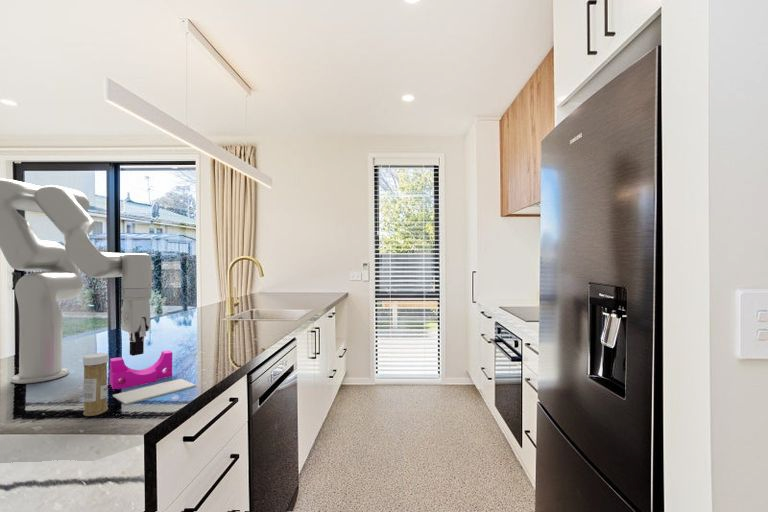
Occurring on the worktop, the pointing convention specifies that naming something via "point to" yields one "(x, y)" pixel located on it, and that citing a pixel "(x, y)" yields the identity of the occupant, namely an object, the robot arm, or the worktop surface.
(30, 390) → the worktop surface
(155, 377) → the toy block
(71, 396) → the worktop surface
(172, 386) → the mat
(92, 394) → the sprinkles bottle
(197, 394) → the worktop surface
